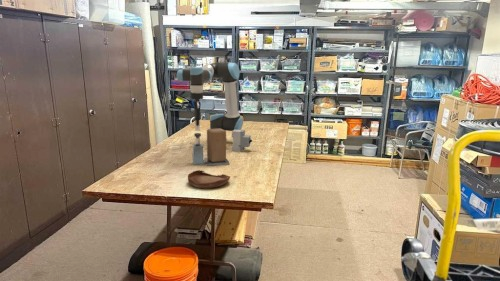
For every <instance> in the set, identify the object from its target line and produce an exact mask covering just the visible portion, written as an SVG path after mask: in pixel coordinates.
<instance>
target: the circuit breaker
mask: <svg viewBox="0 0 500 281" xmlns="http://www.w3.org/2000/svg"><path fill="white" fill-rule="evenodd" d="M231 138H232V144H231V152H237V153H238V152H239V153H243V152H244V151H245V149H246V148H249V147H250V146H251V143H252V142H253V140H252V139H251V134H246V130H245V129H241V130H235V129H234V130H233V131H231Z"/></svg>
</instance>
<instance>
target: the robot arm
mask: <svg viewBox="0 0 500 281" xmlns="http://www.w3.org/2000/svg"><path fill="white" fill-rule="evenodd" d="M240 75H241V72H240V68H239V65H238V64H237V63H235V62H231V61H229V62H212V63H209V64H205V65H203V66H191V67H190V68H187V69H184V68H183V69H178V70H177V71H176V78H177V79H176V80H178V81H179V82H190V86H189V89H190V92H191V93H190V99H191V100H194V101H193V108H194V109H193V113H194V117H193V118H194V119H193V120H194V126H195V127H194V130H195V131H196V132H197V131H201V129H200V128H201V126H200V124H201V121H200V120H201V101H200V100H203V99H204V83H207V82H210V81H212V79H213V78H214V79H221V82H222V84H223V87H224V88H223V89H224V95H225V97H224V98H225V107H226V113H216V114H212V115H210V116H209V118H210V119H209V129H218V128H221V129H223V130H225V131H226V132H227V131H229V132H232V131H233V130H234V129H235V130H242V128H243V125H244V124H243V123H244V118H243V117H242V116H241V114H240V113H239V111H238V110H239V109H238V99H237V98H238V97H237V86H236V82H238V79H239V78H240ZM227 142H228V139H227V138H226V144H227Z"/></svg>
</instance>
